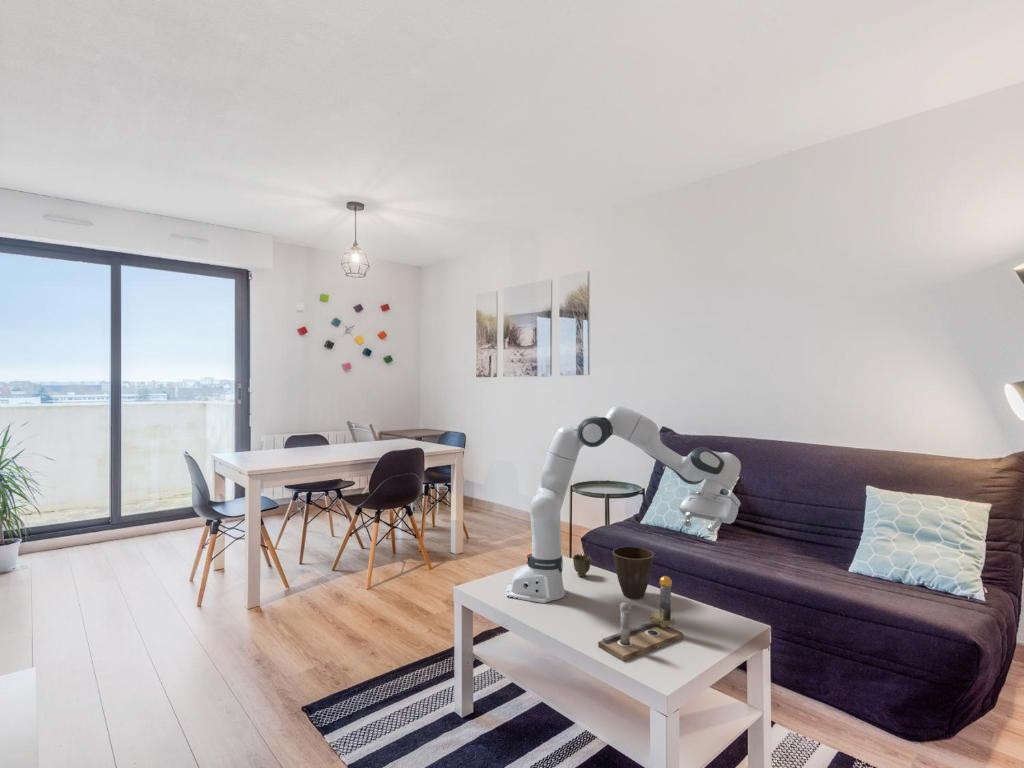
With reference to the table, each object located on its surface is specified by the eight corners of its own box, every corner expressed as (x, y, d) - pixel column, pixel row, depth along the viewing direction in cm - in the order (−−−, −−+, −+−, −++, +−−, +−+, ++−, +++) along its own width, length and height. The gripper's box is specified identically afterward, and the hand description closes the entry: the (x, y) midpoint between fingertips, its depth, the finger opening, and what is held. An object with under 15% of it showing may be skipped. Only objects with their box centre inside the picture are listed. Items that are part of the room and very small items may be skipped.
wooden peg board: (657, 625, 166) (657, 583, 166) (682, 637, 158) (682, 593, 158) (598, 646, 152) (598, 601, 152) (623, 661, 143) (623, 613, 144)
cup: (587, 580, 207) (587, 560, 207) (570, 577, 210) (570, 557, 210) (593, 574, 213) (593, 555, 213) (576, 571, 217) (576, 552, 217)
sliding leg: (658, 619, 166) (658, 570, 166) (675, 627, 161) (675, 576, 161) (649, 623, 163) (649, 573, 164) (665, 630, 158) (665, 579, 159)
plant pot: (645, 607, 181) (645, 561, 181) (606, 597, 189) (606, 553, 190) (659, 593, 193) (659, 551, 194) (621, 585, 202) (621, 544, 202)
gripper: (685, 485, 185) (668, 517, 180) (736, 492, 168) (719, 528, 162) (694, 496, 187) (678, 528, 182) (745, 504, 170) (729, 539, 165)
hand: (698, 528), depth 172 cm, fingers open, 8 cm apart
